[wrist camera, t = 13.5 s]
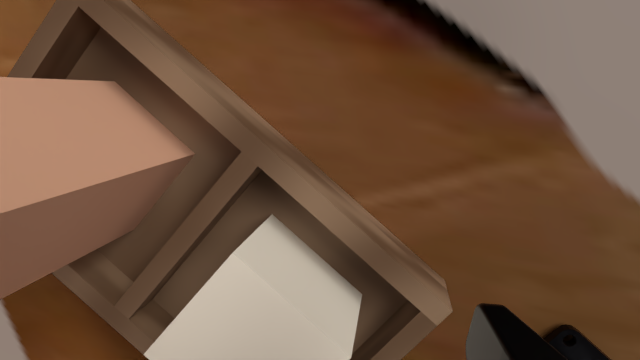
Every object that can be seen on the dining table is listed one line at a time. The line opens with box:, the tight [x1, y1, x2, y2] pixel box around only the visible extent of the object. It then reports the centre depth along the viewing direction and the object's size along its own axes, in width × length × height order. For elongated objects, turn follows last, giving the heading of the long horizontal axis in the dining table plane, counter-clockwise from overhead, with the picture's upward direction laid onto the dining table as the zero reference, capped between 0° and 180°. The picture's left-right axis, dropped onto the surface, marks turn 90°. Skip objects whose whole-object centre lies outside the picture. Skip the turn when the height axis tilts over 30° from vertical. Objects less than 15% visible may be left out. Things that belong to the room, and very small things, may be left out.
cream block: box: [143, 214, 362, 360], centre depth 18 cm, size 5×5×5 cm
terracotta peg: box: [0, 77, 195, 299], centre depth 15 cm, size 4×4×12 cm
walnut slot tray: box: [7, 0, 452, 360], centre depth 20 cm, size 18×10×3 cm, turn 49°
